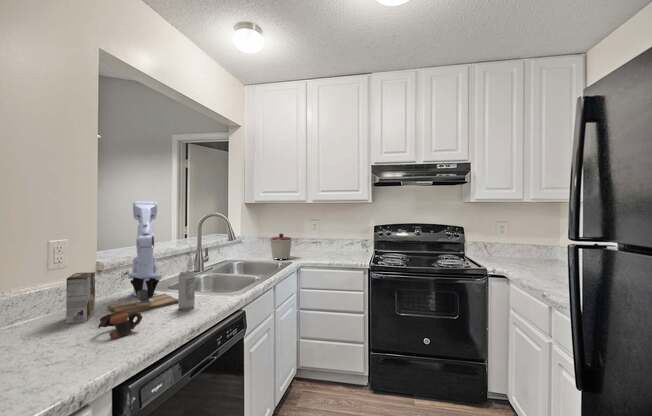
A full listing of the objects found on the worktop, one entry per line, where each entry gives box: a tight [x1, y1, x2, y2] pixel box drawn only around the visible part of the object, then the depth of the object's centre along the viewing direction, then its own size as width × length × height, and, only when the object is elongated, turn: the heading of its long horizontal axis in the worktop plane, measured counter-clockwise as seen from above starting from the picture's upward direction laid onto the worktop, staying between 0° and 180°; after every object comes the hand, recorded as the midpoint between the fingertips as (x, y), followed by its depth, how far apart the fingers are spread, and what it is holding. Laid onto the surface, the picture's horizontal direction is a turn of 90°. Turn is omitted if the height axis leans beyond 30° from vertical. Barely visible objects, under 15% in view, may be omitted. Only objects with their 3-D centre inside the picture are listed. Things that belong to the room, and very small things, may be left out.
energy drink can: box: [177, 269, 196, 310], centre depth 124 cm, size 6×6×15 cm
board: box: [107, 293, 178, 314], centre depth 127 cm, size 15×22×2 cm
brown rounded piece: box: [97, 310, 143, 340], centre depth 99 cm, size 12×10×8 cm
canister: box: [269, 233, 293, 259], centre depth 245 cm, size 18×18×21 cm
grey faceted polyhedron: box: [136, 289, 152, 300], centre depth 127 cm, size 5×6×4 cm
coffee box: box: [65, 271, 96, 325], centre depth 111 cm, size 9×6×16 cm
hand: (144, 296), depth 127 cm, fingers closed on grey faceted polyhedron, 5 cm apart
